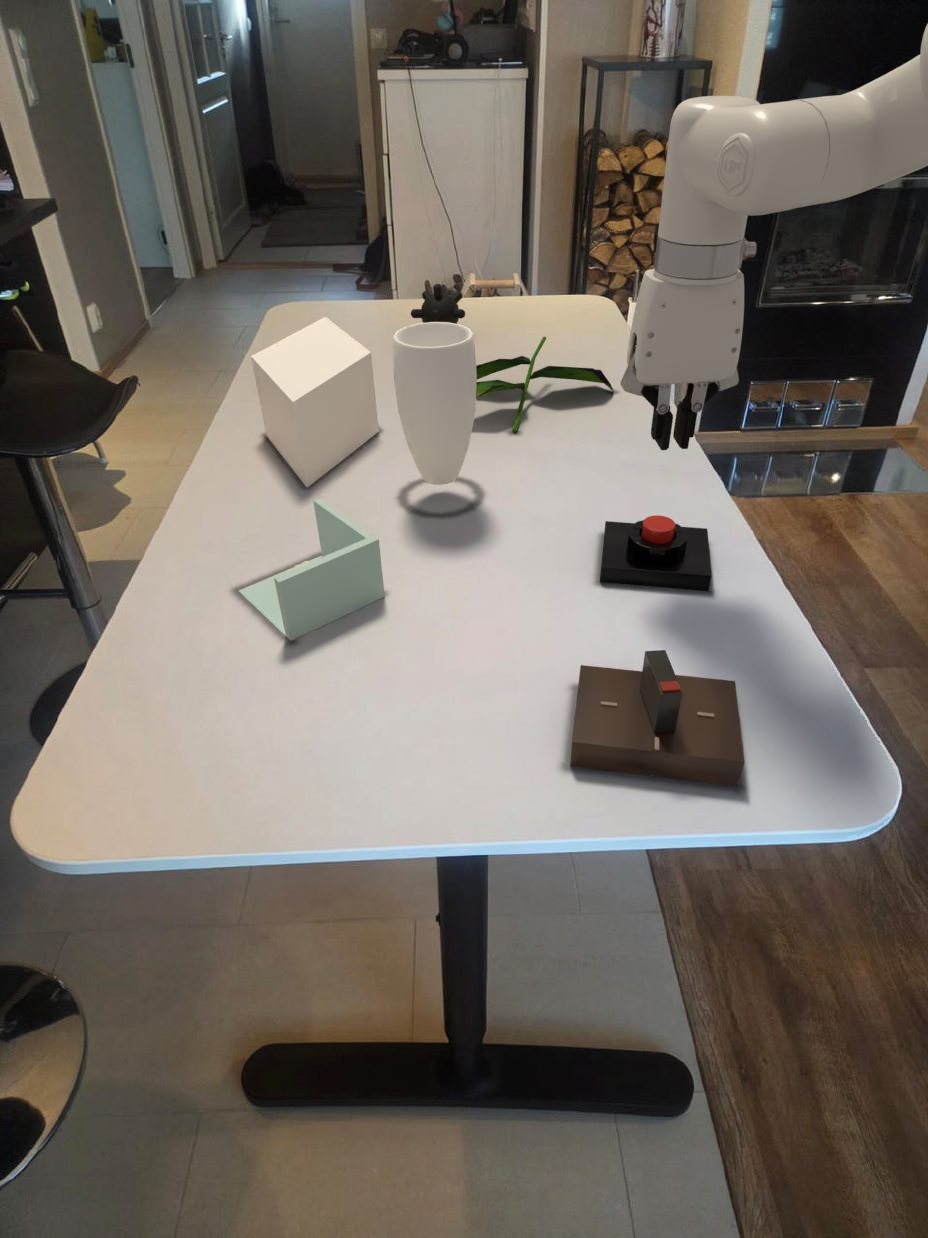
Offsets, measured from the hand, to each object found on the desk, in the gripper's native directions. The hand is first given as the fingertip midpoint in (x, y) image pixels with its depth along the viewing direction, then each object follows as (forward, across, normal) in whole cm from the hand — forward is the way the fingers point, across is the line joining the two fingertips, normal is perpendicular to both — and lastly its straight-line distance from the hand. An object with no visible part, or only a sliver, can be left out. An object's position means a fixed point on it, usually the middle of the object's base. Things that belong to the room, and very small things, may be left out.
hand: (670, 443), depth 84 cm
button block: (+15, 0, 0) cm, 15 cm away
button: (+12, 0, 0) cm, 12 cm away
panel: (+15, +7, +27) cm, 32 cm away
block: (+15, +41, -41) cm, 60 cm away
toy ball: (+15, +21, -83) cm, 87 cm away
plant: (+15, +7, -47) cm, 50 cm away
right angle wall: (+15, +40, +2) cm, 43 cm away
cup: (+15, +24, -19) cm, 34 cm away
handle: (+12, +7, +27) cm, 30 cm away
